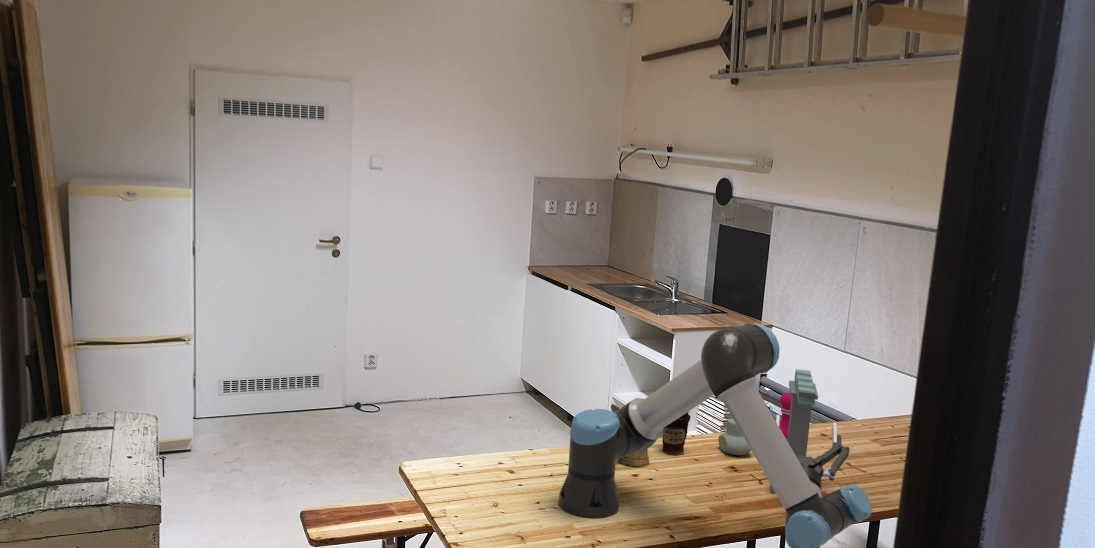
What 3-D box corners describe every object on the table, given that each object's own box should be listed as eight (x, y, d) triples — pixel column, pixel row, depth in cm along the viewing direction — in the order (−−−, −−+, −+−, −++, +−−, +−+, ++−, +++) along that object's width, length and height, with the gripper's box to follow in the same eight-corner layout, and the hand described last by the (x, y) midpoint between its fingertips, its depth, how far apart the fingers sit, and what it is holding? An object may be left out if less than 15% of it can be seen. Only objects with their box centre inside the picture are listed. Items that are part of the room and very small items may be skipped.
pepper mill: (799, 449, 264) (806, 388, 261) (792, 455, 258) (799, 392, 255) (776, 444, 267) (783, 383, 265) (769, 450, 261) (776, 388, 259)
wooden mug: (599, 459, 243) (603, 399, 240) (637, 454, 249) (642, 396, 247) (615, 470, 235) (620, 408, 232) (655, 465, 241) (660, 404, 239)
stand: (816, 500, 223) (828, 398, 219) (770, 492, 226) (781, 392, 222) (813, 479, 239) (824, 383, 235) (769, 472, 241) (780, 378, 238)
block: (814, 405, 212) (815, 393, 211) (798, 403, 213) (799, 391, 212) (809, 381, 237) (810, 370, 236) (794, 379, 238) (795, 369, 237)
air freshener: (715, 446, 262) (718, 415, 260) (740, 446, 263) (743, 415, 262) (728, 458, 251) (731, 426, 250) (754, 458, 253) (757, 426, 251)
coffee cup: (686, 458, 248) (690, 416, 247) (658, 455, 250) (662, 413, 248) (687, 449, 257) (691, 408, 255) (660, 445, 258) (664, 405, 257)
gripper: (747, 491, 198) (753, 425, 214) (858, 508, 192) (856, 440, 208) (750, 470, 194) (755, 404, 210) (863, 487, 187) (860, 419, 204)
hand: (805, 422), depth 209 cm, fingers open, 13 cm apart
